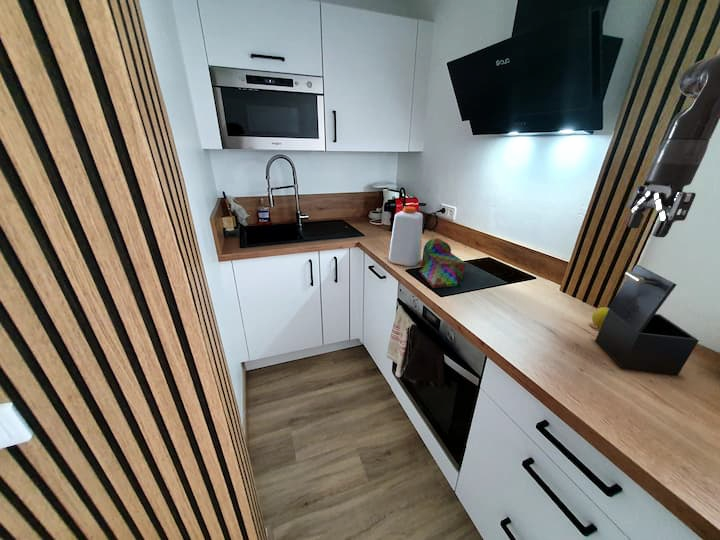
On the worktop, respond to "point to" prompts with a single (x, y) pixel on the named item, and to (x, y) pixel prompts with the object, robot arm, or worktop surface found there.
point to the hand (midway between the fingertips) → (644, 232)
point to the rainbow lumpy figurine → (441, 264)
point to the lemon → (599, 316)
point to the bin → (646, 345)
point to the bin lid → (641, 297)
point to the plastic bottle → (406, 237)
